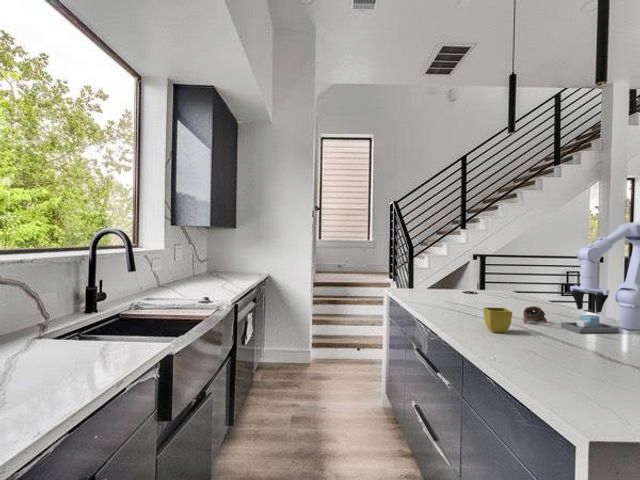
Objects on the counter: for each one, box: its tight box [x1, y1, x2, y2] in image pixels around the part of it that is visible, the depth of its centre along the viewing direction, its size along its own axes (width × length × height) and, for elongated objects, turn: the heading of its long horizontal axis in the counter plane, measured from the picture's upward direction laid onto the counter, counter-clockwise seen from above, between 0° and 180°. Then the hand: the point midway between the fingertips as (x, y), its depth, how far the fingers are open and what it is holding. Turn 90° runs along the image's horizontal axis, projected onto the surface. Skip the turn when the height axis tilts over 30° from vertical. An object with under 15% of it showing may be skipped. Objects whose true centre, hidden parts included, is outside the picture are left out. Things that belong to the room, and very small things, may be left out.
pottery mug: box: [522, 306, 548, 324], centre depth 180 cm, size 12×10×8 cm
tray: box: [560, 321, 620, 335], centre depth 164 cm, size 16×12×2 cm
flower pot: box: [483, 306, 513, 334], centre depth 162 cm, size 9×9×9 cm
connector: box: [576, 314, 600, 328], centre depth 164 cm, size 10×4×5 cm, turn 113°
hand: (589, 310), depth 164 cm, fingers open, 7 cm apart
